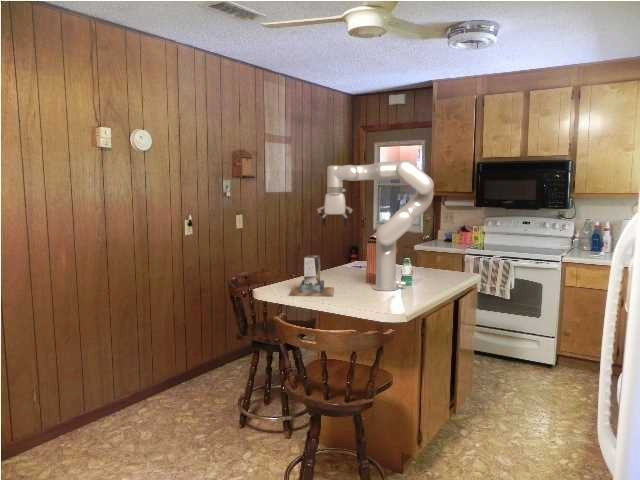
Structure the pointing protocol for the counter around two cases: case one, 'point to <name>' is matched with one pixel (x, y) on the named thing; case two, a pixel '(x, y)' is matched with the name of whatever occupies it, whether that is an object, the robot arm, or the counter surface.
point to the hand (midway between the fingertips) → (334, 226)
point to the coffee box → (312, 270)
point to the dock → (312, 290)
